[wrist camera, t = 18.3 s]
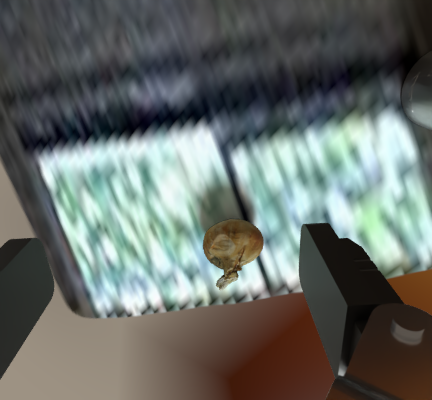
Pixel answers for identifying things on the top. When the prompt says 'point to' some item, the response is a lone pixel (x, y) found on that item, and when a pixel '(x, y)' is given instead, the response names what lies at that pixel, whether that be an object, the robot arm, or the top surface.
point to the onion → (232, 247)
